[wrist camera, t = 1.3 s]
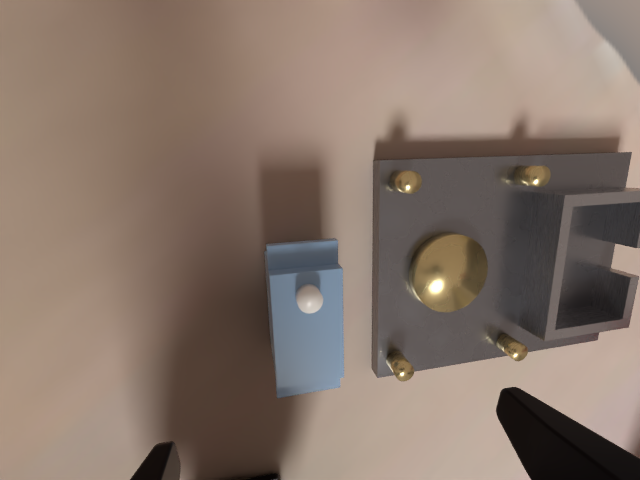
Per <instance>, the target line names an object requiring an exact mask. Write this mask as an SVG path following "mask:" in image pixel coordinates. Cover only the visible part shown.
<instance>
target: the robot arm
mask: <svg viewBox="0 0 640 480" xmlns="http://www.w3.org/2000/svg"><path fill="white" fill-rule="evenodd" d="M496 413H497V416H498V419H499V421H500V423H501V425H502V426H503V428H504V430H505V432H506V434H507V436H508V438H509V440H510V442H511V444H512V446H513V447H514V449H515V451H516V453H517V455H518V457H519V459H520V461H521V463H522V465H523V466H524V468H525V470H526V472H527V474H528V475H529V477H530V478H531V480H640V459H639V458H638V457H636V456H634V455H633V454H631V453H629V452H627V451H626V450H624V449H622V448H621V447H619V446H617V445H615V444H614V443H612V442H610V441H609V440H607V439H605V438H603V437H602V436H600V435H598V434H597V433H595V432H593V431H591V430H590V429H588V428H586V427H585V426H583V425H581V424H579V423H578V422H576V421H574V420H573V419H571V418H569V417H567V416H566V415H564V414H562V413H561V412H559V411H557V410H555V409H554V408H552V407H550V406H549V405H547V404H545V403H543V402H542V401H540V400H538V399H537V398H535V397H533V396H531V395H530V394H528V393H526V392H525V391H523V390H521V389H519V388H517V387H510V388H504V389H502V390H501V392H500V396H499V400H498V404H497V407H496ZM179 479H180V461H179V456H178V452H177V448H176V445H175V443H174V442H173V441H170V442H164V443H159V444H157V445H155V446H154V448H153V449H152V450H151V452H150V453H149V454H148V456H147V457H146V459H145V460H144V461H143V463H142V464H141V465H140V467H139V468H138V470H137V471H136V472H135V474H134V475H133V476H132V478H131V479H130V480H179ZM246 480H281V479H280V476H279V475H278V474H269V475H265V476H260V477H256V478H251V479H246Z"/></svg>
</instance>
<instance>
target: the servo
mask: <svg viewBox="0 0 640 480" xmlns="http://www.w3.org/2000/svg"><path fill="white" fill-rule="evenodd" d="M264 257H265V271H266V285H267V299H268V313H269V327H270V341H271V349H272V356H273V363H274V370H275V380H276V394H277V398H282V397H287V396H293V395H299V394H305V393H310V392H316V391H322V390H328V389H333V388H339V387H340V378H342V377H344V339H343V269H342V267H341V266H340V265H339V264H338V240H336V239H335V238H333V239H321V240H308V241H296V242H283V243H271V244H266V251H264Z"/></svg>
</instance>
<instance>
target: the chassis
mask: <svg viewBox="0 0 640 480" xmlns="http://www.w3.org/2000/svg"><path fill="white" fill-rule="evenodd" d="M631 154H632V152H622V153H589V154H558V155H526V156H495V157H463V158H432V159H400V160H374V169H373V300H372V370H373V371H374V373H375V375H376V376H377V378H380V377H385V376H391V375H395V376H396V377H397V379H398V380H400V381H407V380H409V379H410V378H411V377H412V376H413V374H414V372H415V371H420V370H426V369H432V368H438V367H444V366H450V365H455V364H461V363H467V362H473V361H479V360H485V359H490V358H496V357H502V356H510V357H511V358H512V359H514V360H515V361H521V360H523V359H524V358H525V357H526V355H527V353H528V352H531V351H537V350H543V349H549V348H555V347H560V346H566V345H572V344H578V343H584V342H590V341H595V340H598V335H599V332H603V331H609V330H615V329H621V328H627V327H629V324H630V319H631V314H632V309H633V304H634V299H635V294H636V289H637V284H638V279H639V276H636V275H633V274H629V273H626V272H622V271H619V270H615V269H612V268H611V264H612V258H613V253H614V247H615V243H616V244H620V245H625V246H630V247H634V248H640V189H639V188H625V187H626V181H627V176H628V170H629V165H630V159H631Z"/></svg>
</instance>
